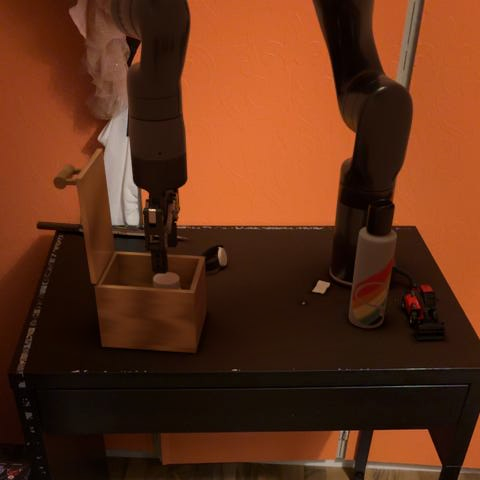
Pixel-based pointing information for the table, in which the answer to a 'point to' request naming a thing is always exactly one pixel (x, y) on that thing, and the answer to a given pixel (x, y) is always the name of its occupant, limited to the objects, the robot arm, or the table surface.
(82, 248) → the table surface
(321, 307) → the table surface
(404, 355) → the table surface
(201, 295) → the brown open rectangular box
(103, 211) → the lid
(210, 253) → the watch
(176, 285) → the supplement bottle
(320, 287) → the card
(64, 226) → the knife
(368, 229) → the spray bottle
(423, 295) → the loader
